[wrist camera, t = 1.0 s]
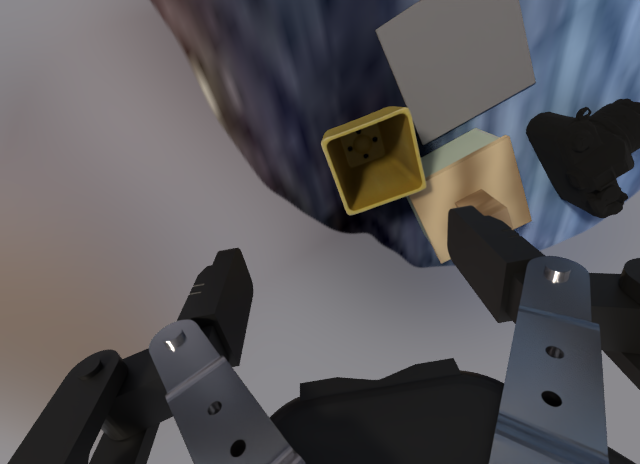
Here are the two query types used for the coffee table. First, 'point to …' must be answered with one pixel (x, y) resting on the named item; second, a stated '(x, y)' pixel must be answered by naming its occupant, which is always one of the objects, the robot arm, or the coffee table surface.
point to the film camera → (588, 153)
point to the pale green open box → (453, 155)
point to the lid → (473, 192)
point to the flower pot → (375, 159)
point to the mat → (456, 59)
